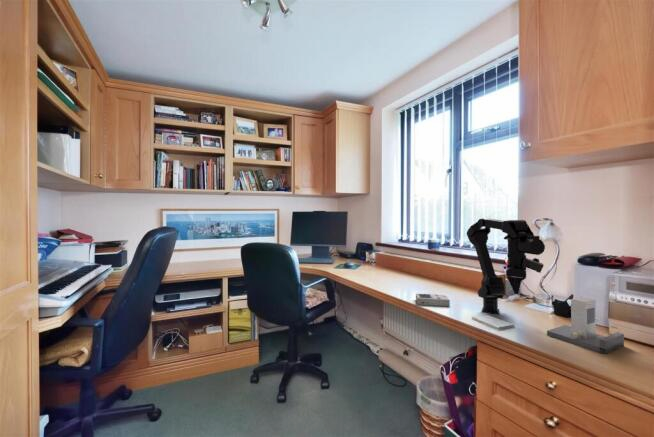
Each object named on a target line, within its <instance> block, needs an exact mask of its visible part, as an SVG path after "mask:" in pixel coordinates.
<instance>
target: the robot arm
mask: <svg viewBox="0 0 654 437" xmlns="http://www.w3.org/2000/svg"><path fill="white" fill-rule="evenodd" d="M491 229H495V230H500V231H501V232H502V233H504V234H506V235H505V236H504V237H503V239H504V240H507V253H506V254H507V268H506V270H505V276H506V278H507V280H508V282H509V285H510V286H511V288H512V291H513V293H514V295H518V294H519V292H520V287H521V283H522V282H523V281H525V280H526V278H527V269H529V270H532V271H535V272H536V273H539V274H540V273H541V272H542V270H543V268H544V266H545V265H544V263H542V262H540V258H536V257H534V258H532V259H531V258H527V254H529V255H535V256H539V255H542V254H543V253H544V252H545V249H546V245H545V243H544V241H543V240H542V239H540V236H539V235H535V234H534V232H533V231H532V229H531V227H530V226H529V224H528V222H527V220H524V219H506V220H504V219H503V220H501V219H495V218H490V217H481V218H479V219H478V220H477V221H476V222H475V223H472V225H471V226H469V227H468V229H467V231H466V236H467V238H468V241H469V243H470V244H472V246H473V247H474V248H475V252H476V256H477V260H478V263H479V266H480V270H481V273H482V279H481V282H480V284H481V286H480V288H479V289H478V291H477V296H478V297H480V298H482V299H483V300H482V303H483V304H482V308H481V312H484V313H488V314H496V315H499V313H500V309H499V299H503V298H504V294H505V291H506V288H505V287H506V284H504V279H503V277H501V276H500V277H499V276H498V275H497V274H496V271H495V268H494V265H493V262H492V258H491V255H490V252H489V248H488V246H487V243H488V240H489V234H490V233H491Z"/></svg>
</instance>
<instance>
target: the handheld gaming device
mask: <svg viewBox="0 0 654 437" xmlns="http://www.w3.org/2000/svg"><path fill="white" fill-rule="evenodd" d="M415 300H416V303H417V305H421V306H440V307H450V306H451V304H450V303H451V302H450V301H451V300H450V299H449V298H448V296H446V295H442V294H434V293H433V294H431V293H415Z"/></svg>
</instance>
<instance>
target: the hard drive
mask: <svg viewBox="0 0 654 437" xmlns="http://www.w3.org/2000/svg"><path fill="white" fill-rule="evenodd" d="M471 319H472V320H473V321H476V322H478V323H479V324H483V325H485V326H487V327H489V328H491V329H494V328H495V329H494V330H496V329H497V331H501V330H502V331H503V330H507V329H514V328H515V324H512V323H509V322H507V321H505V320H502V319H499V318H496V317H494V316H491V315H488V314H481V315H474V316H472V317H471Z"/></svg>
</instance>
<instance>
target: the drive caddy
mask: <svg viewBox="0 0 654 437" xmlns="http://www.w3.org/2000/svg"><path fill="white" fill-rule="evenodd" d="M596 308H597V306H596V299H593V298H589V297H584V296H577V297H574V298H571V299H570V314H571V316H570V317H571V318H570V320H571V322H570V324H571V325H570V326H571V336H573V333H577V334H578V338H581V339H584V340H587V339H590V338H593V337H595V336H596V334H597V332H596V331H597V330H596V329H597V326H596V325H597V323H596V322H597V321H596V320H597V319H596V318H597V317H596Z"/></svg>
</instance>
